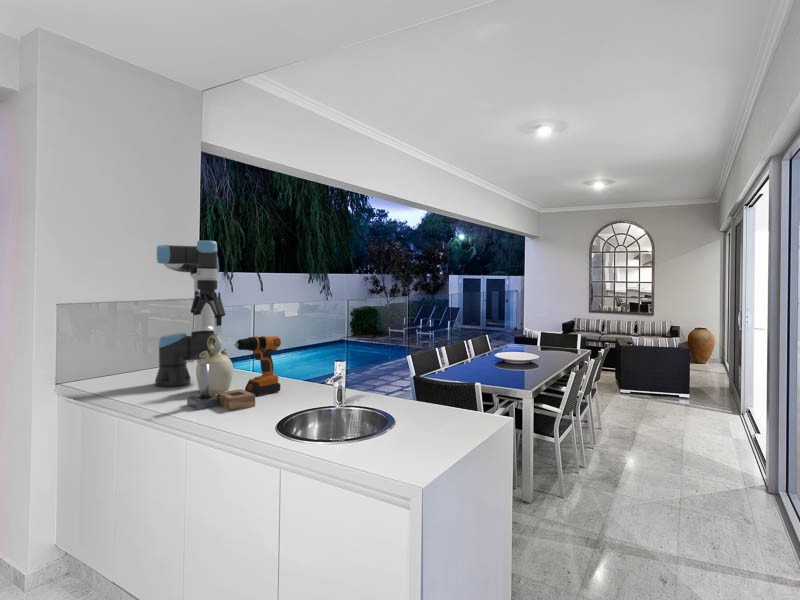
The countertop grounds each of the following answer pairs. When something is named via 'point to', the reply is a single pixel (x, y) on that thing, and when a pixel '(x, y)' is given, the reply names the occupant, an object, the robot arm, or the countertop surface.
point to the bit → (204, 381)
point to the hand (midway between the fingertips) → (207, 332)
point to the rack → (236, 399)
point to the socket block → (203, 402)
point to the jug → (216, 367)
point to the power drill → (262, 363)
